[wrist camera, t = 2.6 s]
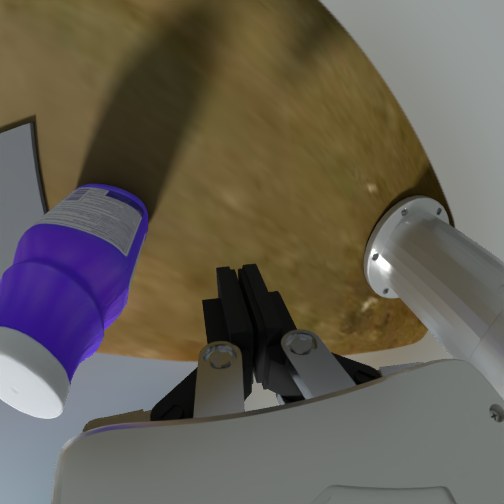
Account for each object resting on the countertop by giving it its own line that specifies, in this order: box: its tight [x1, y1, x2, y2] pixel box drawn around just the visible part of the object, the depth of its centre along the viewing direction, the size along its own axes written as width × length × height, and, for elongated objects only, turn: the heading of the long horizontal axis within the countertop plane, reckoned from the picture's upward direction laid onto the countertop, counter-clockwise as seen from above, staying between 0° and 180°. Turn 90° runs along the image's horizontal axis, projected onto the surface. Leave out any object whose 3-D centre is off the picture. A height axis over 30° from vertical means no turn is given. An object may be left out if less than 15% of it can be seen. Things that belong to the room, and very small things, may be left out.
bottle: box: [0, 184, 148, 419], centre depth 14 cm, size 7×6×17 cm
